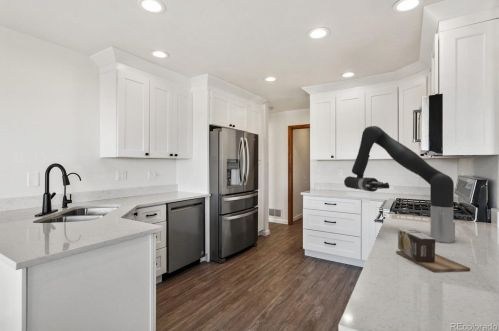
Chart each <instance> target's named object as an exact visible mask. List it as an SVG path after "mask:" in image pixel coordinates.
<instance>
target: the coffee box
mask: <svg viewBox="0 0 499 331" xmlns="http://www.w3.org/2000/svg"><path fill="white" fill-rule="evenodd" d="M397 230H398V231H397V232H398V235H397V241H398V242H397V249H398V251H402V252H404V253H405V254H407V255H408V256H410V257H411V258H413V259H414V260H416V261H417V262H427V263H429V262H435V254H436V241H435V239H434V238H432V237H430V235H427V234H425V233H424V232H423V233H422V232H421V231H420V230H416V229H414V228H405V227H404V228H400V227H399V228H398V229H397Z"/></svg>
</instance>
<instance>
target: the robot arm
mask: <svg viewBox="0 0 499 331" xmlns="http://www.w3.org/2000/svg"><path fill="white" fill-rule="evenodd" d="M374 144H376V145H378V146H379V147H381V148H382V149H384V150H385V152H387V154H388V155H389V156H390V157H391V159H392V160H394V162H396V163H397V164H399V165H400V166H401V167H403V168H404V169H406V170H408V171H409V172H411V173H414V174H415V175H417V176H418V177H420V178H422V179H423V180H424V181H425V182H427V183H428V184H429V186H430V190H429V191H430V194H429V196H430V197H429V198H430V200H429V201H430V220H429V221H430V226H429V228H430V231H429V232H430V234H429V237H432V238H434V239H435V242H438V243H445V244H449V243H450V244H451V243H454V242H456V222H455V221H454V201H455V200H454V193H455V191H454V190H455V189H454V188H455V185H454V183H455V182H454V180H453V179H452V177H450V176H449V175H447V174H445V173H444V172H441V171H440V170H438V169H436V168H435V167H433V166H432V165H430V164H429V163H428V162H427V161H426V160H425V159H423V158H422V157H421V156H420V155H418V154H417V153H416V152H415V151H413V150H412V149H410V148H409V147H407V146H406V145H404V144H403V143H401V142H399V141H397V140H396V139H395V138H393V137H391V136H390V135H389V134H388V133H387V132H385V131H384V130H383V129H382V128H381V127H379V126H377V125H369V126H366V127H365V128H364V130H363V131H362V134H361V140H360V144H359V149H358V151H357V155H356V158H355V161H354V163H353V166H352V169H351V173H352V174H354V175H356V177H355V176H350V175H349V176H347V177H345V178H344V180H343V181H344V182H343V183H344V186H345V188H350V189H354V190H361V191H367V192H372V193H373V192H376V191H377V190H380V189H381V190H383V189H388V190H389V189H390V184H389V182H383V181H379V180H378V179H377V178H375V177H364V174H365V171H366V168H367V166H368V164H369V163H368V162H369V157H370V152H371V149H372V148H373V146H374Z"/></svg>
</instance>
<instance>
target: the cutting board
mask: <svg viewBox="0 0 499 331" xmlns="http://www.w3.org/2000/svg"><path fill="white" fill-rule="evenodd" d="M395 254H397V255H399V256H400V257H402V258H405V259H407V260H409V261H411V262H413V263H415V264H416V265H418V266H420V267H422V268H424V269H427V270H429V271H430V272H433V273H452V272H455V273H456V272H471V268H470V267H468V266H466V265H464V264H462V263H459V262H456V261H454V260H451V259H449V258H446V257H444V256H442V255H439V254H437V253H435V262H429V263H427V262H417V261H416V260H414V259H413V258H411V257H410V256H408V255H407V254H405V253H404V252H402V251H401V250H396V251H395Z"/></svg>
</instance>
